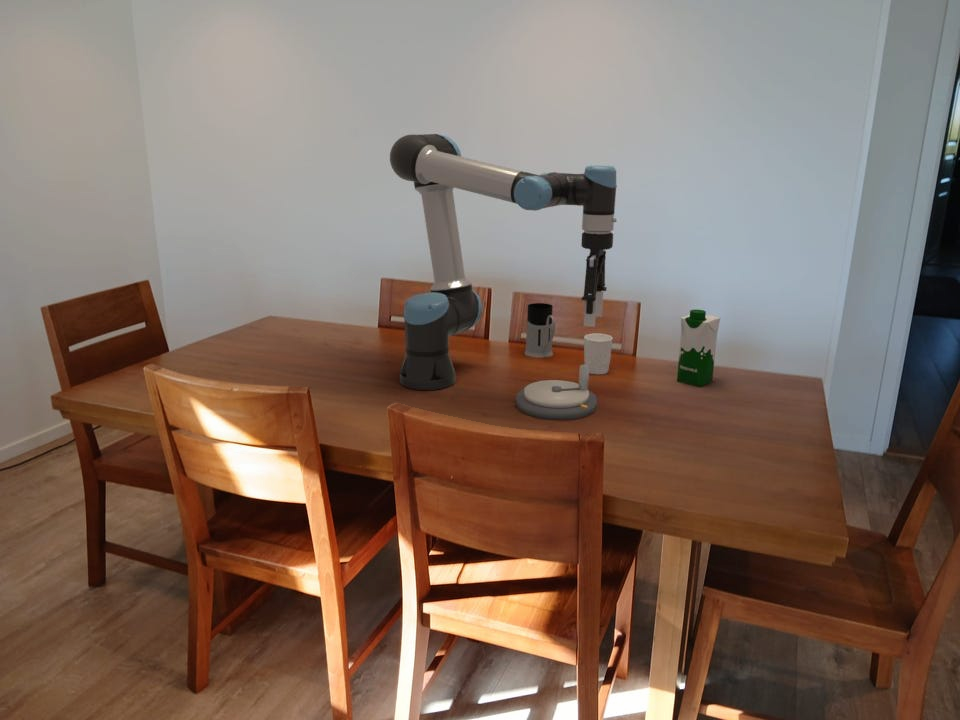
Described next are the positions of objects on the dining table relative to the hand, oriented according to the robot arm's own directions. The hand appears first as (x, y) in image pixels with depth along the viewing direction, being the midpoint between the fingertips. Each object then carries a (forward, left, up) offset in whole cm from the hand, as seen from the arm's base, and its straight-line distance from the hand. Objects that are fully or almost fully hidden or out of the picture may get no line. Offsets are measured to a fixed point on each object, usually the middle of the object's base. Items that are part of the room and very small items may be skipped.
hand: (592, 321), depth 182 cm
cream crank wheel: (-6, -10, -17) cm, 21 cm away
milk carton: (+26, +20, -20) cm, 38 cm away
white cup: (-1, +20, -20) cm, 28 cm away
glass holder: (-19, +29, -20) cm, 40 cm away
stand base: (-6, -10, -20) cm, 23 cm away
